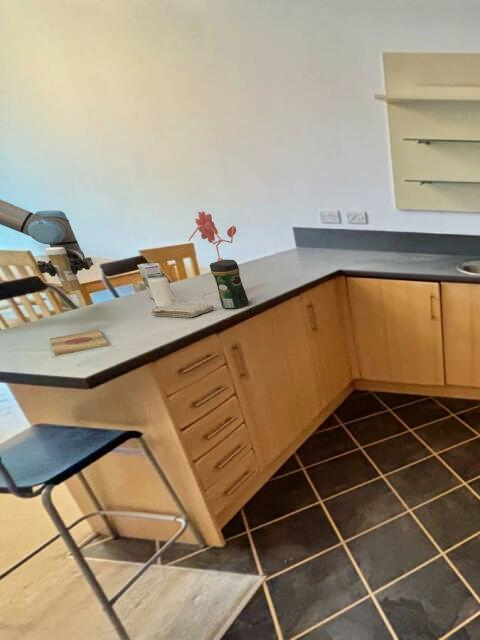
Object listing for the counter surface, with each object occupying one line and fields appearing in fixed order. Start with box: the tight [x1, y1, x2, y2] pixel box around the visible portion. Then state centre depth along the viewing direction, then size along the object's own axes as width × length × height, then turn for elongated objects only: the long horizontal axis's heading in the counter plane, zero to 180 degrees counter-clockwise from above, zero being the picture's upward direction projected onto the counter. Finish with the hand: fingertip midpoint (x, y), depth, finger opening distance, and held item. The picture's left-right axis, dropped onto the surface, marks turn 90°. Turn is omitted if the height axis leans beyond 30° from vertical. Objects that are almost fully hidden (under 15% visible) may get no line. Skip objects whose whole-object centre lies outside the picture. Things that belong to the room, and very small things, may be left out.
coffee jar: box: [209, 259, 250, 310], centre depth 167 cm, size 10×8×19 cm
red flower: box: [187, 210, 254, 301], centre depth 179 cm, size 15×26×35 cm, turn 2°
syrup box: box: [137, 262, 163, 300], centre depth 177 cm, size 6×6×14 cm
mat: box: [49, 329, 109, 357], centre depth 132 cm, size 18×12×1 cm, turn 48°
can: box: [147, 274, 177, 307], centre depth 168 cm, size 6×6×12 cm
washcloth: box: [150, 301, 215, 319], centre depth 161 cm, size 12×18×3 cm, turn 84°
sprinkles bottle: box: [44, 247, 83, 292], centre depth 135 cm, size 5×5×14 cm
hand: (62, 271), depth 131 cm, fingers closed on sprinkles bottle, 4 cm apart
